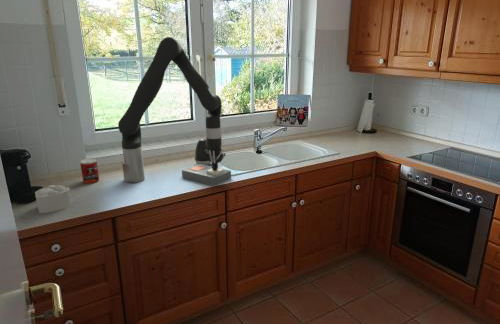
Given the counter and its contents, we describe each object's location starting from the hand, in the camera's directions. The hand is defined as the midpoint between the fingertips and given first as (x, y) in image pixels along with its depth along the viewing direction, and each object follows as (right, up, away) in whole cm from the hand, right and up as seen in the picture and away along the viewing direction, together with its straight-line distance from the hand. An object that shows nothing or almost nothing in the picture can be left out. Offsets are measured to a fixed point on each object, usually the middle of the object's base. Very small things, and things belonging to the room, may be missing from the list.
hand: (215, 169), depth 185 cm
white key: (0, -3, +1) cm, 4 cm away
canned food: (-63, -6, +2) cm, 64 cm away
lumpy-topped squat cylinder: (-66, -15, -27) cm, 73 cm away
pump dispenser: (-9, +2, +26) cm, 28 cm away
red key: (-10, -3, +8) cm, 13 cm away
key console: (-5, -4, +5) cm, 8 cm away
